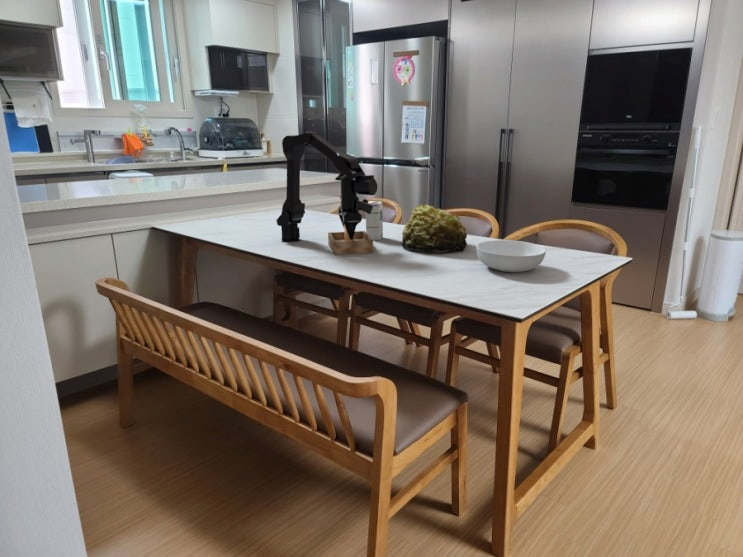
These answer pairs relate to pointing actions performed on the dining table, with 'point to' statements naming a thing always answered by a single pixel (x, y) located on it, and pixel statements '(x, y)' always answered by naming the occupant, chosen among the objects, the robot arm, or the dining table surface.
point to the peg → (347, 235)
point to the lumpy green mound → (433, 231)
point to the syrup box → (375, 221)
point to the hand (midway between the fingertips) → (349, 236)
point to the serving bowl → (510, 255)
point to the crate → (350, 243)
